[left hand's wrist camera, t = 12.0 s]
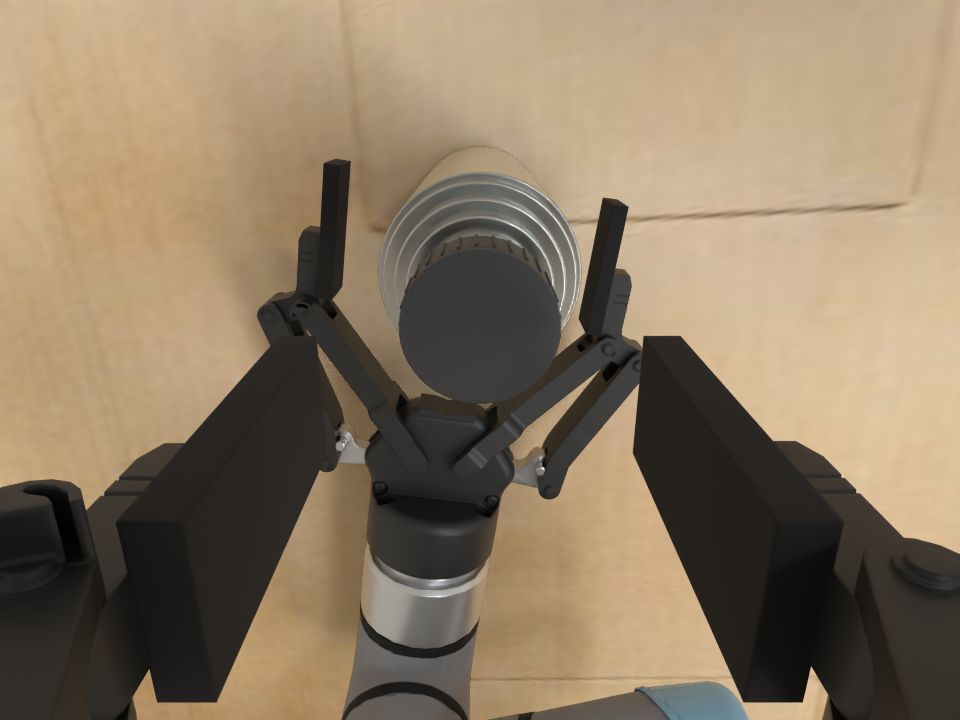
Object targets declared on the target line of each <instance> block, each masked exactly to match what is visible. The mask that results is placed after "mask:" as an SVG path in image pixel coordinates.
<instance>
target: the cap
mask: <svg viewBox="0 0 960 720" xmlns="http://www.w3.org/2000/svg"><path fill="white" fill-rule="evenodd" d="M404 293H405V295H404V297H403V300H402V302H401V305H400V308H399V309H401V311H400V316H399V323H398V326H399V336H400V342H401V346H402V349H403V352H404V355H405V357H406V359H407V361H408V363H409V365H410V366H411V368H412V369H413V371H414V372H415V373H416V374H417V376H418V377H419V378H420V379H421V380H422V381H423V382H424V383H425V384H426V385H428V386H429V387H430V388H432V389H433V390H435V391H436V392H438V393H440V394H442V395H444V396H446V397H448V398H451V399H453V400H457V401H461V402H466V403H473V404H486V403H495V402H499V401H503V400H506V399H509V398H512V397H514V396H516V395H518V394H520V393H522V392H524V391H525V390H527V389H528V388H530V387H531V386H532V385H533V384H535V383H536V382H537V381H538V380H539V379H540V378H541V377H542V376H543V374H544V373H545V372H546V371H547V369H548V368H549V366H550V365H551V363H552V361H553V359H554V357H555V355H556V352H557V349H558V346H559V342H560V337H561V319H562V316H561V314H560V311H559V307H558V303H559V300H558V298H557V295H556V293H555V290H554V288H553V286H552V283H551V281H550V278H549V276H548V273H547V272H546V271H545V272H544V271H543V269H542V268H541V266H540V264H539V261H538V259H537V258H536V259H534V258H533V257H532V256H531V255H530V254H529V253H528V252H527V251H526V248H524V247H523V248H521V247H519V246H517V245H516V244H514V243H512V242H511V240H508V241H507V240H504V239H501V238H497V237H495V235H492V236H478V234H475V236H468V237H463V238H462V237H461V236H459V237H458V239H456V240H453V241H451V242H448V243H446V242H444V243H443V244H442V246H441V247H439V248H437V249H436V250H435V251H434V252H432V251H430V252H429V254H428V257H427V258H426V259H425V260H424V261H423V262H422V263H421V264H420V263H419V264H418V266H417V268H416V271H415V273H414V276H413V277H410V280H409V282H408V284H407V287H406V289H405V292H404Z"/></svg>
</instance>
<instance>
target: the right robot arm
mask: <svg viewBox="0 0 960 720" xmlns="http://www.w3.org/2000/svg"><path fill="white" fill-rule="evenodd" d="M350 164H351V161H346V160H339V159H334V160H331V161H328V162H325V163H324V168H323V186H322V205H321V224H320V227H316V226H309V227H308V228H306V229H305V230H303V232H302V234H301V236H300V238H299V246H298V251H299V252H298V269H297V287H296V291H293V292H288V293H282V292H281V293H277V294H275V295H274V296H273V297H272V298H270V299H269V300H268V301H267V302H266V303H265V304H264V305H263V306H262V307H260V309H259V310H258V313H257V317H258V320H259V322H260V325H261V327H262V329H263V331H264V333H265V335H266V337H267V339H268V341H269V343H270V346H271V345H272V344H273V343H274V342H275V341H276V339H277V338H278V337H279V336H309V335H308V333H307V330H308V332H309V333H310V334H311V335H312V336H316V338H317V343H318V345H319V346H320V347H321V349H322V350H323V351H324V353H325V354H326V355H327V356H328V358H329V359H330V360H331V362H332V363H333V364H334V366H335V367H336V368H337V370H338V371H339V372H340V374H341V375H342V376H343V377H344V379H345V380H346V381H347V383H348V384H349V385H350V387H351V388H352V389H353V391H354V392H355V393H356V395H357V396H358V397H359V398H360V400H361V401H362V402H363V404H364V405H365V406H366V408H367V410H368V413H369V416H370V418H371V420H372V422H373V423H374V424H375V425H376V427H377V428H378V429H379V430H378V431H377V432H376V433H375V434H374V435H373V436H372V437H371V438H370V440H369V441H365V440H362V439H361V438H359V437H358V435H357V433H356V431H355V429H354V427H353V426H352V424H350V423H344V417H343V413H342V409H341V406H340V404H339V401H338V399H337V397H336V395H335V392H334V390H333V388H332V386H331V384H330V381H329V379H328V377H327V375H326V373H325V370H324V368H323V366H322V364H321V361H320V359H319V357H318V360H319V371H320V381H321V392H322V403H323V414H324V424H325V435H326V446H327V454H326V457H325V459H324V461H323V463H322V466H321V468H320V470H321V471H323V472H331V471H333V470H334V469H335V468H336V466H337V464H338V463H351V464H366V466H367V468H368V469H369V472H370V474H371V492H370V503H369V514H368V524H367V545H366V548H365V554H364V566H363V578H362V590H361V603H360V620H359V628H358V636H357V643H356V652H355V659H354V665H353V671H352V676H351V680H350V685H349V689H348V693H347V698H346V702H345V707H344V711H343V716H342V720H469V706H470V677H471V668H472V661H473V653H474V646H475V639H476V632H477V627H478V623H479V618H480V614H481V611H482V605H483V599H484V593H485V587H486V581H487V576H488V570H489V563H490V559H489V556H490V554H491V551H492V547H493V541H494V536H495V530H496V524H497V519H498V513H499V507H500V502H501V497H502V494H503V492H504V490H505V489H506V487H507V486H508V485H509V484H510V483H511V482H514V483H518V484H523V485H527V486H531V487H536V488H538V490H539V494H540V495H541V496H542V497H543V498H545V499H554V498H555V497H557V496H558V495H559V493H560V490H561V487H562V485H563V482H564V479H565V476H566V473H567V470H568V467H569V466H570V465H571V464H572V462H573V461H574V460H575V459H576V458H577V456H578V455H579V454H580V453H581V452H582V451H583V449H584V448H585V447H586V446H587V445H588V443H589V442H590V441H591V440H592V439H593V437H594V436H595V435H596V434H597V433H598V431H599V430H600V429H601V428H602V427H603V425H604V424H605V423H606V422H607V421H608V419H609V418H610V417H611V416H612V415H613V413H614V412H615V411H616V410H617V409H618V408H619V406H620V405H621V404H622V403H623V402H624V400H625V399H626V398H627V397H628V396H629V394H630V393H631V392H632V391H633V390H634V388H635V387H636V386H637V385H638V384H639V381H640V371H641V360H642V347H641V346H640V344H639V343H638V342H637V341H635V340H630V339H628V338H626V337H624V336H622V327H623V322H624V318H625V314H626V309H627V304H628V300H629V296H630V292H631V287H632V285H631V279H630V275H629V274H628V273H627V272H626V271H625V270H623V269H616V263H617V258H618V254H619V249H620V244H621V240H622V235H623V231H624V226H625V221H626V217H627V212H628V206H626V205H625V204H623V203H622V202H620V201H619V200H617V199H610V198H603V200H602V205H601V210H600V215H599V220H598V225H597V230H596V235H595V240H594V245H593V250H592V255H591V260H590V265H589V270H588V275H587V280H586V285H585V290H584V295H583V300H582V304H581V309H580V314H579V320H580V322H581V325H582V327H583V329H584V331H585V334H583V335H582V336H581V337H580V338H578V339H577V340H576V341H575V342H573V343H572V344H571V345H570V346H569V347H567V348H566V349H565V350H564V351H562V352H561V353H560V354H559V355H557V356H556V357H555V358H554V359H553V361H552V363H551V365H550V366H549V368H548V369H547V371H546V372H545V373H544V374H543V376H542V377H541V378H540V379H539V380H538V381H537V382H536V383H535V384H533V385H532V386H531V387H530V388H528V389H527V390H525V391H524V392H522V393H520V394H518V395H516V396H514V397H512V398H509V399H506V400H503V401H499V402H495V403H493V404H492V405H491V406H489V407H488V408H487V409H486V410H485V409H484V408H483V407H481V406H480V405H477V404H473V403H466V402H461V401H457V400H446V399H444V398H441V397H439V396H436V395H430V394H421V397H417V398H414V399H411V400H409V398H408V397H407V396H406V394H405V393H404V392H403V390H402V389H401V388H400V386H399V385H398V384H397V383H396V382H395V381H392V380H391V379H390V377H389V376H388V375H387V373H386V372H385V371H384V369H383V368H382V367H381V365H380V364H379V362H378V361H377V360H376V358H375V357H374V356H373V354H372V353H371V352H370V350H369V349H368V348H367V346H366V345H365V343H364V342H363V341H362V339H361V338H360V337H359V335H358V334H357V333H356V331H355V330H354V328H353V327H352V326H351V324H350V323H349V322H348V320H347V319H346V318H345V316H344V315H343V314H342V312H341V311H340V309H339V308H338V307H337V305H336V304H335V303H334V301H333V300H332V299H333V298H334V297H335V295H336V294H337V293H338V291H339V290H340V289H341V288H342V283H343V268H344V253H345V238H346V224H347V209H348V194H349V179H350ZM306 329H307V330H306ZM600 369H601V370H600ZM599 370H600V371H599ZM597 371H599V372H598V373H597V374H596V376H595V377H594V378H593V379H592V381H591V382H590V383H589V384H588V386H587V387H586V388H585V389H584V391H583V392H582V393H581V394H580V396H579V397H578V398H577V399H576V400H575V402H574V403H573V404H572V405H571V407H570V408H569V409H568V410H567V412H566V413H565V414H564V415H563V417H562V418H561V419H560V420H559V422H558V423H557V424H556V425H555V426H554V428H553V429H552V430H551V432H550V433H549V434H548V436H547V438H546V439H545V441H544V443H543V446H542V448H540V447H534V448H533V450H531V451H530V452H529V454H528V455H527V456H526V457H525V458H524V459H520V460H516V459H514V457H513V454H512V452H511V450H510V449H509V447H508V446H509V445H510V444H512V443H513V442H514V441H515V440H517V439H518V438H519V437H520V436H521V434H522V432H523V430H524V429H525V428H526V427H527V426H529V425H530V424H531V423H532V422H534V421H535V420H536V419H537V418H539V417H540V416H541V415H543V414H544V413H545V412H546V411H548V410H549V409H550V408H551V407H553V406H554V405H555V404H557V403H558V402H559V401H560V400H562V399H563V398H564V397H565V396H567V395H568V394H569V393H571V392H572V391H573V390H574V389H576V388H577V387H578V386H579V385H581V384H582V383H583V382H585V381H586V380H587V379H588V378H590V377H591V376H592V375H593V374H595V373H596V372H597ZM489 720H749V718H748V716H747V714H746V712H745V710H744V708H743V706H742V705H741V703H740V701H739V700H738V699H737V697H736V696H735V695H734V694H733V693H732V692H731V691H730V690H729V689H728V688H726V687H725V686H723V685H722V684H719V683H717V682H709V681H705V682H695V683H685V684H675V685H665V686H655V687H644V686H642V687H638V688H635V691H634V692H631V693H626V694H621V695H616V696H612V697H607V698H602V699H597V700H593V701H588V702H583V703H578V704H574V705H569V706H564V707H559V708H555V709H550V710H545V711H540V712H529V713H524V714H516V715H511V716H505V717H500V718H494V719H489Z"/></svg>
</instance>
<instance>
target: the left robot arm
mask: <svg viewBox="0 0 960 720" xmlns="http://www.w3.org/2000/svg"><path fill="white" fill-rule="evenodd" d="M326 454H327V446H326V435H325V424H324V414H323V403H322V392H321V381H320V371H319V360H318V349H317V338H316V336H279V337H278V338H277V339H276V341H275V342H274V343H273V344H272V345H271V346H270V347H269V349H268V350H267V351H266V352H265V353H264V354H263V355H262V356H261V358H260V359H259V360H258V361H257V362H256V363H255V364H254V366H253V367H252V368H251V369H250V370H249V371H248V372H247V374H246V375H245V376H244V377H243V378H242V379H241V380H240V381H239V383H238V384H237V385H236V386H235V387H234V388H233V389H232V391H231V392H230V393H229V394H228V395H227V396H226V397H225V398H224V400H223V401H222V402H221V403H220V404H219V405H218V406H217V408H216V409H215V410H214V411H213V412H212V413H211V414H210V415H209V417H208V418H207V419H206V420H205V421H204V422H203V423H202V425H201V426H200V427H199V428H198V429H197V430H196V431H195V432H194V434H193V435H192V436H191V437H190V438H189V439H188V440H187V442H186V443H164V444H163V445H161V446H159V447H157V448H155V449H154V450H152V451H150V452H148V453H147V454H145V455H143V456H141V457H139V458H138V459H136V460H135V461H134V462H133V463H132V464H131V465H130V466H129V467H128V469H127V470H126V471H125V472H124V473H123V474H122V475H121V476H120V477H119V481H115V482H114V483H113V484H112V485H111V486H110V487H109V488H108V489H107V490H106V491H105V492H104V493H105V494H104V496H100V497H99V498H98V499H97V500H96V501H95V502H94V503H93V504H92V505H91V506H90V507H89V508H88V509H87V510H86V509H85V505H84V501H83V497H82V493H81V489H80V488H78V487H77V486H75V485H74V484H72V483H71V482H67V481H60V480H54V479H50V480H36V481H27V482H22V483H18V484H14V485H9V486H5V487H1V488H0V720H137V716H136V710H135V706H134V702H133V698H132V697H133V695H134V694H135V692H136V690H137V689H138V687H139V685H140V683H141V682H142V680H143V678H144V677H145V675H146V673H147V672H148V670H149V669H150V673H151V677H152V682H153V686H154V690H155V695H156V699H157V702H217V700H218V698H219V695H220V693H221V691H222V689H223V686H224V684H225V682H226V680H227V677H228V675H229V673H230V671H231V668H232V666H233V664H234V662H235V659H236V657H237V655H238V653H239V650H240V648H241V646H242V644H243V641H244V639H245V637H246V635H247V632H248V630H249V628H250V626H251V623H252V621H253V619H254V617H255V614H256V612H257V610H258V608H259V605H260V603H261V601H262V599H263V596H264V594H265V592H266V590H267V587H268V585H269V583H270V581H271V578H272V576H273V574H274V572H275V569H276V567H277V565H278V563H279V560H280V558H281V556H282V554H283V551H284V549H285V547H286V545H287V542H288V540H289V538H290V536H291V533H292V531H293V529H294V527H295V524H296V522H297V520H298V518H299V515H300V513H301V511H302V509H303V506H304V504H305V502H306V499H307V497H308V495H309V493H310V490H311V488H312V486H313V484H314V481H315V479H316V477H317V475H318V472H319V470H320V468H321V466H322V463H323V461H324V459H325V457H326ZM633 454H634V457H635V459H636V461H637V463H638V466H639V468H640V470H641V472H642V475H643V477H644V479H645V481H646V484H647V486H648V488H649V490H650V493H651V495H652V497H653V499H654V502H655V504H656V506H657V509H658V511H659V513H660V515H661V518H662V520H663V522H664V524H665V527H666V529H667V531H668V533H669V536H670V538H671V540H672V542H673V545H674V547H675V549H676V551H677V554H678V556H679V558H680V560H681V563H682V565H683V567H684V569H685V572H686V574H687V576H688V578H689V581H690V583H691V585H692V587H693V590H694V592H695V594H696V596H697V599H698V601H699V603H700V605H701V608H702V610H703V612H704V614H705V617H706V619H707V621H708V623H709V626H710V628H711V630H712V632H713V635H714V637H715V639H716V641H717V644H718V646H719V648H720V650H721V653H722V655H723V657H724V659H725V662H726V664H727V666H728V668H729V671H730V673H731V675H732V677H733V680H734V682H735V684H736V686H737V689H738V691H739V693H740V695H741V698H742V700H743V702H803V699H804V695H805V690H806V686H807V682H808V677H809V673H810V669H811V666H812V668H813V670H814V671H815V673H816V675H817V677H818V678H819V680H820V682H821V683H822V685H823V687H824V688H825V690H826V692H827V693H828V698H827V702H826V706H825V710H824V714H823V718H822V720H960V554H958V553H956V552H954V551H952V550H949V549H947V548H945V547H943V546H940V545H937V544H933V543H929V542H925V541H922V540H918V539H913V538H903V537H902V536H901V534H900V533H899V532H898V531H897V530H896V529H895V528H894V527H893V526H892V525H891V524H890V523H889V522H888V521H887V520H886V519H885V518H884V517H883V516H882V515H881V514H880V513H879V512H878V511H877V510H876V509H875V508H874V507H873V506H872V505H871V504H870V503H869V502H868V501H867V500H866V499H865V498H864V497H863V496H862V495H861V494H860V493H856V489H855V488H854V487H853V486H852V485H851V484H850V483H849V482H848V481H847V480H846V479H845V478H841V474H840V473H839V472H838V471H837V470H836V469H835V468H834V467H833V466H832V465H831V464H830V463H829V462H828V461H827V460H826V459H825V458H824V457H823V456H822V455H820V454H818V453H816V452H814V451H813V450H811V449H809V448H807V447H805V446H804V445H802V444H800V443H798V442H796V441H773V440H772V439H771V438H770V437H769V436H768V435H767V434H766V432H765V431H764V430H763V429H762V428H761V427H760V426H759V425H758V423H757V422H756V421H755V420H754V419H753V418H752V417H751V415H750V414H749V413H748V412H747V411H746V410H745V409H744V408H743V406H742V405H741V404H740V403H739V402H738V401H737V400H736V398H735V397H734V396H733V395H732V394H731V393H730V392H729V391H728V389H727V388H726V387H725V386H724V385H723V384H722V383H721V381H720V380H719V379H718V378H717V377H716V376H715V375H714V374H713V372H712V371H711V370H710V369H709V368H708V367H707V366H706V364H705V363H704V362H703V361H702V360H701V359H700V358H699V356H698V355H697V354H696V353H695V352H694V351H693V350H692V349H691V347H690V346H689V345H688V344H687V343H686V342H685V341H684V339H683V338H682V337H681V336H644V338H643V349H642V360H641V371H640V381H639V392H638V403H637V414H636V424H635V435H634V446H633Z"/></svg>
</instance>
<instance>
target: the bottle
mask: <svg viewBox="0 0 960 720" xmlns="http://www.w3.org/2000/svg"><path fill="white" fill-rule="evenodd" d="M475 234H478V236H492V235H495V237H497V238H501V239H504V240H507V241H508V240H511V242H512V243H514V244H516V245H517V246H519V247H521V248H523V247H524V248H526V251H527V252H528V253H529V254H530V255H531V256H532V257H533V258H534V259H536V258H537V259H538V261H539V264H540V266H541V268H542V269H543V271H544V272H545V271H546V272H547V273H548V276H549V278H550V281H551V283H552V286H553V288H554V290H555V293H556V295H557V298H558V300H559V303H558V307H559V311H560V314H561V316H562V319H561V331H562V329H563V328H564V326H565V325H566V323H567V322H568V320H569V318H570V316H571V314H572V312H573V310H574V308H575V305H576V302H577V299H578V296H579V291H580V286H581V273H582V270H581V257H580V253H579V248H578V244H577V241H576V238H575V235H574V233H573V231H572V229H571V227H570V225H569V223H568V221H567V219H566V218H565V217H564V215H563V214H562V212H561V211H560V209H559V208H558V207H557V206H556V204H555V203H554V202H553V201H552V199H551V198H550V197H549V196H548V194H547V193H546V192H545V190H544V189H543V188H542V187H541V185H540V184H539V183H538V182H537V180H536V179H535V178H534V176H533V175H532V174H531V173H530V171H529V170H528V169H527V168H526V167H525V166H524V165H523V164H522V163H521V162H520V161H519V160H518V159H516V158H515V157H513V156H512V155H510V154H508V153H506V152H504V151H502V150H498V149H495V148H490V147H470V148H465V149H461V150H459V151H456V152H454V153H452V154H450V155H448V156H447V157H445V158H444V159H442V160H441V161H440V162H439V163H438V164H437V165H436V166H435V167H434V168H433V169H432V170H431V171H430V173H429V174H428V175H427V177H426V178H425V179H424V180H423V182H422V183H421V184H420V185H419V187H418V188H417V189H416V190H415V192H414V193H413V194H412V196H411V197H410V198H409V199H408V201H407V202H406V203H405V204H404V206H403V207H402V208H401V210H400V211H399V212H398V214H397V215H396V216H395V218H394V219H393V221H392V223H391V225H390V227H389V228H388V230H387V233H386V235H385V238H384V241H383V243H382V248H381V252H380V257H379V268H378V272H379V285H380V291H381V296H382V299H383V302H384V305H385V308H386V310H387V312H388V314H389V317H390V319H391V320H392V322H393V323H394V325H395V327H396V328H397V330H398V331H399V326H398V323H399V316H400V311H401V309H399V308H400V305H401V302H402V300H403V297H404V295H405V293H404V292H405V289H406V287H407V284H408V282H409V280H410V277H413V276H414V273H415V271H416V268H417V266H418V264H419V263H420V264H421V263H422V262H423V261H424V260H425V259H426V258H427V257H428V254H429V252H430V251H432V252H434V251H435V250H436V249H437V248H439V247H441V246H442V244H443V243H444V242H446V243H448V242H451V241H453V240H456V239H458V237H459V236H461V237H462V238H463V237H468V236H475Z"/></svg>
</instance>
